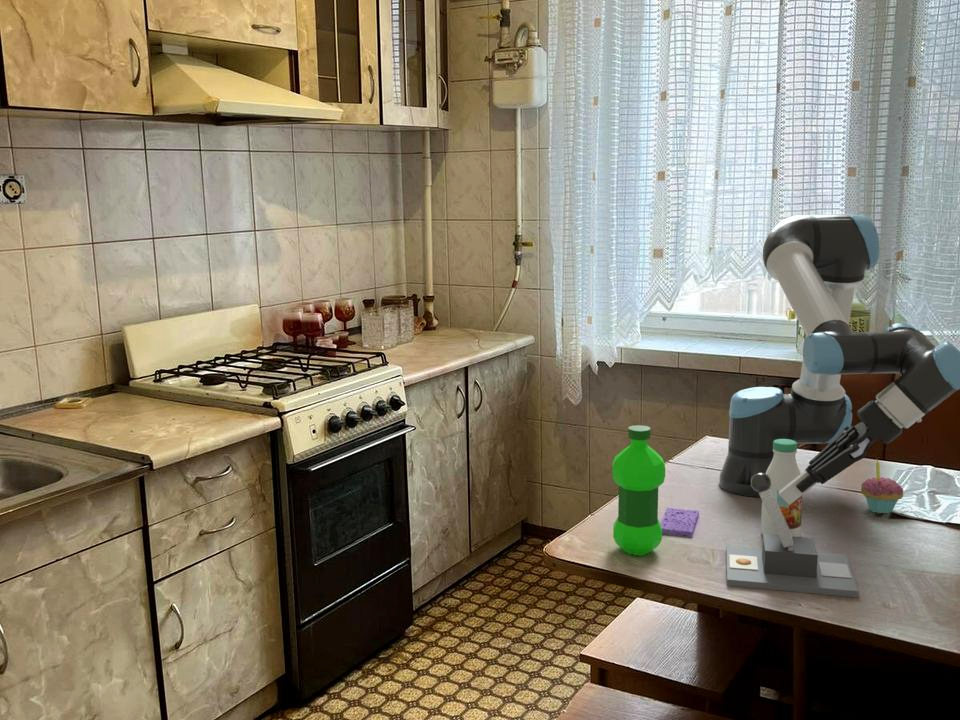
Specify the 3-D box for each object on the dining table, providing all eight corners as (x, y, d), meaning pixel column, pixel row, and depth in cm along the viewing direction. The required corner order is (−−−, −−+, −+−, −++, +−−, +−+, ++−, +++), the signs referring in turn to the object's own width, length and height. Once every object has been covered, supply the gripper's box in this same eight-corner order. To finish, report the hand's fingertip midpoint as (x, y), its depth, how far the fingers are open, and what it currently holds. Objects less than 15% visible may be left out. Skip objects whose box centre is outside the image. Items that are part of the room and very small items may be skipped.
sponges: (698, 518, 198) (699, 510, 197) (692, 539, 186) (692, 531, 186) (666, 514, 200) (666, 506, 199) (657, 535, 188) (657, 527, 188)
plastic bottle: (641, 536, 187) (643, 418, 182) (674, 554, 177) (677, 431, 172) (600, 545, 182) (602, 425, 177) (632, 565, 173) (634, 438, 168)
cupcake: (881, 519, 194) (885, 465, 191) (850, 506, 201) (854, 454, 199) (910, 513, 197) (915, 459, 195) (879, 500, 205) (883, 449, 202)
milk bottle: (759, 540, 184) (764, 445, 180) (761, 526, 191) (766, 434, 187) (799, 544, 181) (805, 448, 177) (800, 530, 188) (806, 437, 184)
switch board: (845, 560, 173) (847, 530, 172) (857, 597, 158) (860, 564, 157) (726, 550, 179) (727, 521, 178) (727, 585, 164) (728, 553, 162)
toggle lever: (796, 531, 169) (765, 465, 169) (798, 543, 164) (767, 475, 163) (777, 538, 171) (747, 472, 170) (779, 549, 165) (748, 482, 164)
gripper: (911, 440, 152) (801, 526, 160) (897, 420, 165) (795, 501, 172) (879, 408, 152) (770, 495, 160) (868, 390, 165) (767, 472, 172)
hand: (783, 498), depth 166 cm, fingers closed
